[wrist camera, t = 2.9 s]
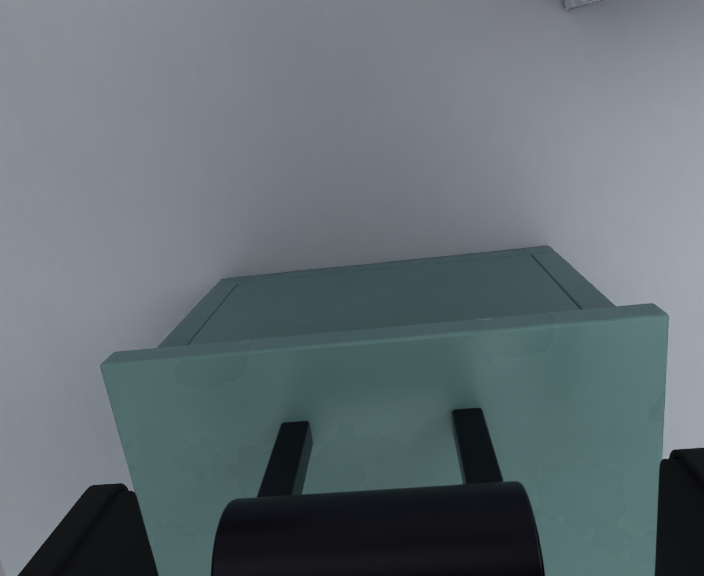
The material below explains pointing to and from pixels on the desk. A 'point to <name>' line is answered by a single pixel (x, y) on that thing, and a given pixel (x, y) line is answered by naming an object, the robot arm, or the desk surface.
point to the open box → (387, 296)
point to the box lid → (403, 448)
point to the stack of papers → (577, 3)
